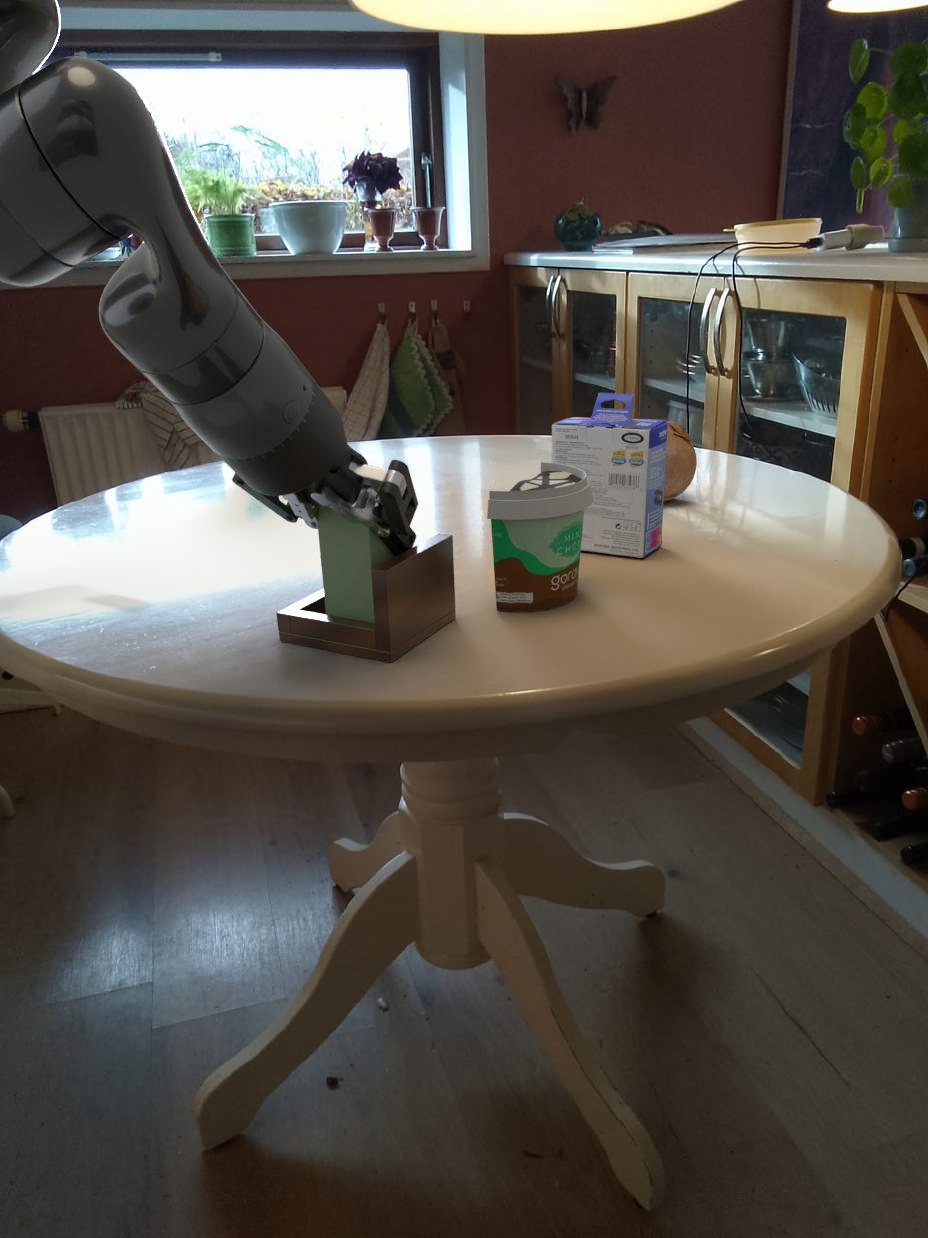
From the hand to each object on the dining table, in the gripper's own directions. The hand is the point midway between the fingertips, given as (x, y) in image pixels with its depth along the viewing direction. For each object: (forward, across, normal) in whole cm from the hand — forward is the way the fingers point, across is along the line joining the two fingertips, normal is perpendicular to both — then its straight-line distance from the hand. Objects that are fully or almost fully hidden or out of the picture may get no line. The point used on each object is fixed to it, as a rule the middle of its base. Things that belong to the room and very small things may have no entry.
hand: (378, 544), depth 68 cm
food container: (+12, -10, -3) cm, 16 cm away
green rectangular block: (+2, 0, +5) cm, 5 cm away
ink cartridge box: (+23, -9, -14) cm, 28 cm away
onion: (+37, -8, -28) cm, 47 cm away
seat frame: (+3, 0, +6) cm, 7 cm away
